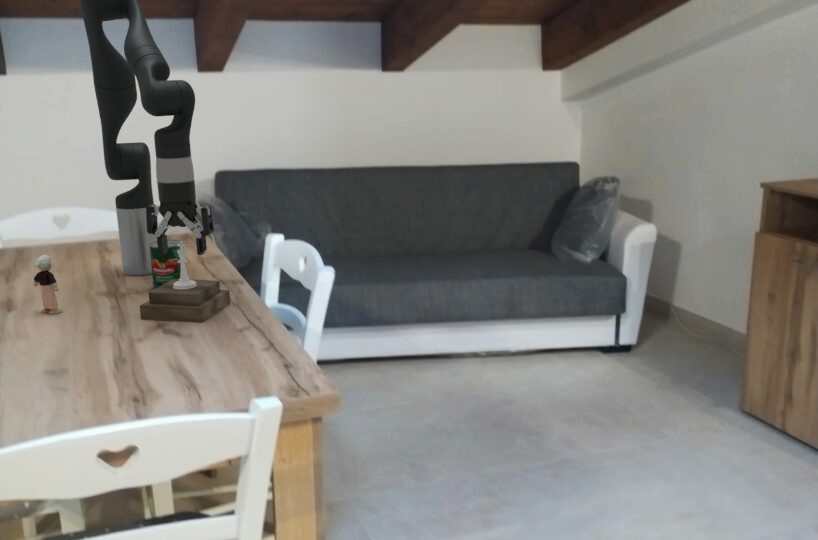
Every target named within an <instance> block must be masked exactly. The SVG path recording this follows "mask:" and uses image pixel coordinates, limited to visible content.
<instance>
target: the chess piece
mask: <svg viewBox="0 0 818 540" xmlns="http://www.w3.org/2000/svg"><path fill="white" fill-rule="evenodd" d="M177 246H180V249H179V250H177V253H178V255H179V257H180V260H178V263H181V273H180V279H179V280H180V281H177V282H175V283H174V284H173V288H174V289H180V290H183V289H191V288H194V287H196V286H197V285H196V282H195V281H193V280H194V279H191V278H190V277H189V275H188V271H187V265H186V263H188V262H189V261H188V259H186V256H187V253H188V252H187V251H188V250H187V249H186V248H184V249H183V247H186V243H184V240H181V241H180V244H177Z"/></svg>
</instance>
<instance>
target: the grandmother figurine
mask: <svg viewBox="0 0 818 540" xmlns="http://www.w3.org/2000/svg"><path fill="white" fill-rule="evenodd" d="M34 267H36V268H38V270H40V271H39V272H37V273H36V274H35V276H34V277H33V286H34V287H36V288H37V287H39V286H40V288H41V299H42V306H43V307H42V308H43V309H42V310H41V313H42V314H46V313H48V314H49V315H54V314H60V313H63V309H62V308H60V307H59V303H58V299H57V296H56V292H58V291H59V287H58V283H57V279H56V277H55V275H54V273H52V272H51V271H50V270H51V268H52V263H51V257H50V256H49V255H47V254H43V255H40V256H39V257H38V258H37V259H36V261H35V263H34Z"/></svg>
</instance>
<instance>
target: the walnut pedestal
mask: <svg viewBox="0 0 818 540" xmlns="http://www.w3.org/2000/svg"><path fill="white" fill-rule="evenodd" d="M192 280H193V281H195V282H196V285H197V286H196V287H194V288H191V289H183V290H180V289H174V288H173V284H174V283H175V282H177V281H180V280H179V279H173V280H171V281H169V282H167V283H165V284H163V285H162V286H160V287H158V288H156V289H152V290H151V291H148V299H149V300H147V301H145V302H143V303H141V304H139V313H140V320H147V321H148V320H149V321H152V320H153V321H167V322H169V321H170V322H183V323H184V322H188V323H203V322H205V321H206V320H208V319H209V318H211V317H212V316H214V315H215V314H217V313H218V312H220V311H221V310H223V309H224V308H225V307H227V306H228V305H229V304H231V295H230V289H221V285H220V284H221V283H220V280H211V279H209V280H207V279H192Z"/></svg>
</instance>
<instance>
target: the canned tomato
mask: <svg viewBox="0 0 818 540" xmlns="http://www.w3.org/2000/svg"><path fill="white" fill-rule="evenodd" d="M180 241H182V239H167V243H168V252H167V253H165V254H161V253H160V251H159V250H158V244H157V241H155V242H152V243H150V244H149V248H150V259H151V269H152V273H151V278H152V286H153V287H152V290H154V289H156V288H158V287H160V286H162V285H163V284H165V283H167V282H169V281H171V280H173V279H180V273H181V263H178V260H180V257H179V255H178V253H177V250H179V249H180V246H177V244H180ZM183 249H185V248H184V247H183Z"/></svg>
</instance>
